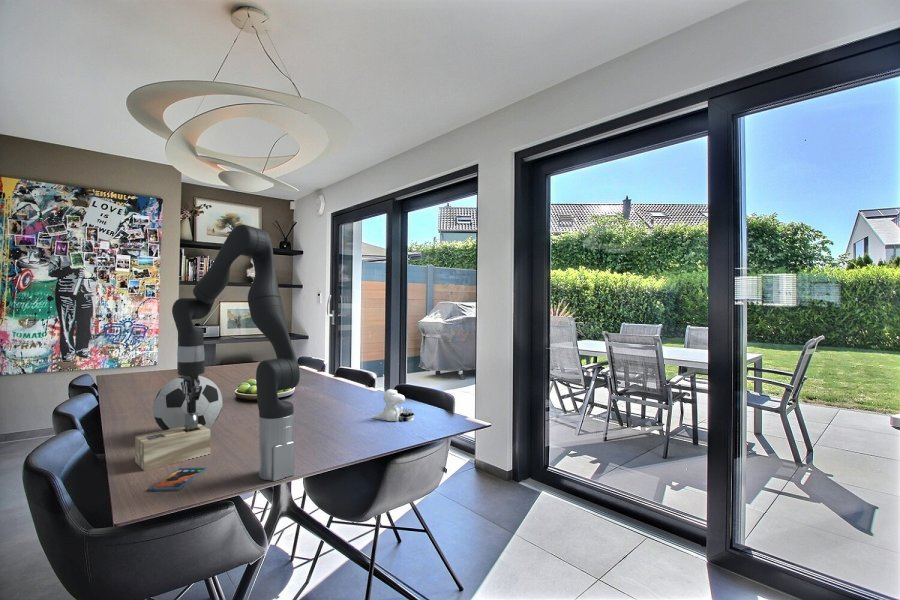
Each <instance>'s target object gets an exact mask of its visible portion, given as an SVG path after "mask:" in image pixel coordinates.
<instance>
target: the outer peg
mask: <svg viewBox="0 0 900 600" xmlns="http://www.w3.org/2000/svg"><path fill="white" fill-rule="evenodd" d="M161 437H162V435H155V436H151V437H149V438H148V440H151V439H156V438H161Z"/></svg>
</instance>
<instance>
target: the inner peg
mask: <svg viewBox="0 0 900 600" xmlns="http://www.w3.org/2000/svg"><path fill="white" fill-rule="evenodd" d="M195 430H198V413H191V414H189V413H187V414H185V432H190V431H195Z"/></svg>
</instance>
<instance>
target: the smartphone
mask: <svg viewBox="0 0 900 600" xmlns="http://www.w3.org/2000/svg"><path fill="white" fill-rule="evenodd" d="M207 469H208V468H207V467H180V468H178V469H176V470H174V471H173V472H171V473H169V474H168V475H166V476H165V477H163V478H161V479H160V480H158V481H157V482H155V483H153V484H152V485H150V486H149V487H148V488H147V491H148V492H161V491H162V492H164V491H165V492H167V491H169V492H170V491H171V492H172V491H176V492H177V491H180V490H181V489H183V488H184V487H185V486H187V485H188V484H189V483H191V482H192V481H193V480H194V479H196V478H197V477H199V474H200V473H201V474H202V473H204V472H205V471H206V470H207ZM204 470H205V471H204ZM203 471H204V472H203ZM201 474H200V475H201ZM195 477H196V478H195Z"/></svg>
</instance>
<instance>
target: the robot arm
mask: <svg viewBox="0 0 900 600" xmlns="http://www.w3.org/2000/svg"><path fill="white" fill-rule="evenodd" d="M272 242H273V241H272V238H271V236H270V234H269V233H268V232H267V231H266V230H264V229H262V228H258V227H255V226H252V225H248V224H239V225H236V226H235V227H234V228H233V229H232V230H230V232H229V234H228V235H227V236H226V239H225V240H224V242H223V244H222V245H221V248H220V249H219V251H218V253H217V255H216V257H215V259H214V260H213V262H212V264H211V265H210V266H209V268H208V270H207V271H206V272H205V274H204V275H203V276H202V277H201V278H200V279H199V280H198V281H197V283H196V284H195V285H194V286H193V288H192V294H193V296H194V297H184V298H183V297H181V298H178V299H176V300H175V301H174V302H173V304H172V307H171V313H172V314H171V315H172V318H173V321H174V324H175V328H176V330H177V334H178V339H177V340H178V349H177V375H178V376H179V377H181V376H184V380H183V382H181V387H182V391H183V395H184V399H185V398H186V401H187V413H189V414H191V413H195V412H196V401H197V400H199V397H200V394H201V391H202V386H199V385H200V380H199V377H198V376H200V375H202V374H204V373H205V366H206V365H205V364H206V363H205V347H204V344H205V343H204V337H205V336H204V329H203V328H202V327H199V326H194V323H193V321H194V320H203V319H204V318H205V317H207V316H208V315H209V314H210V312H211V310H212V307H213V305H214V303H215V301H216V299H217V298H218V297H219V295H220V294H221V293H222V292H223V291H224V290H225V288H226V287H227V285H228V284H229V281H230V272H231V267H232V264H233V263H234V261H235V260H236V259H237V258H239V257H240V256H244V257H249V258H251V260H252V263H253V268H254V278H253V280H252V283H251V285H250V287H249V290H248V294H247V304H248V308H249V315H250V318H251V321H252V322H253V324H254V325H255V326H256V327H257V329H258V330H259V331H260V333H262V334H263V335H264V337H266V338H267V340H268V342H269V343H270V344H271V346H272V347H273V350H274V353H275V355H276V358H271V359H265V360H262V361H260V362H259V363H258V365H257V367H256V370H255V371H256V372H255V383H256V384H255V385H256V401H257V404H256V405H257V409H258V416H259V417H258V423H259V425H258V438H259V439H258V462H259V463H258V464H259V465H258V467H259V469H258V471H259V473H258V474H259V475H258V476H259V478H260V479H262V480H264V481H272V482H276V481H279V480H282V479H286V478H289V477H293V476H295V441H294V440H295V439H294V432H295V431H294V418H295V417H294V412H295V411H294V410H295V409H294V408H295V407H294V404H293V403H292V402H291V401H288V400H283V399H282V400H281V399H279V396H278V392H280V391H285V390H289V389H290V390H291V389H294V388H296V387H297V386H298V384H299V383H300V379H301V373H300V371H301V370H300V366H299V362H298V359H297V356H296V353H295V350H294V347H293V344H292V340H291V338H290V334H289V330H288V326H287V321H286V316H285V312H284V311H285V310H284V307H283V301H282V296H281V294H280V290H279V283H278V278H277V274H276V268H275V258H274V249H273V243H272ZM192 320H193V321H192ZM285 477H286V478H285Z"/></svg>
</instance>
